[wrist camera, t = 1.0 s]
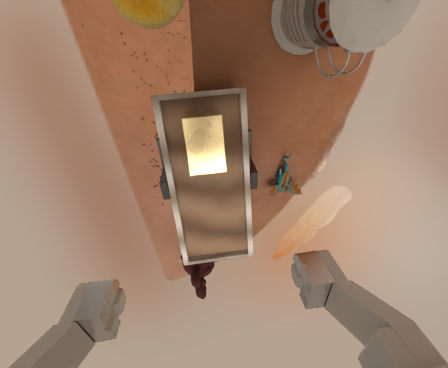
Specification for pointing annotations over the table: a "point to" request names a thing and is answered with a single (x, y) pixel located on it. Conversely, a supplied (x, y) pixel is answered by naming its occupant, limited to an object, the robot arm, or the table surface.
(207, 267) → the icecream
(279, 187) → the dragon figurine
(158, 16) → the bread roll
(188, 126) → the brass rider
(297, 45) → the french press
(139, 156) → the table surface
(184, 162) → the balance beam
